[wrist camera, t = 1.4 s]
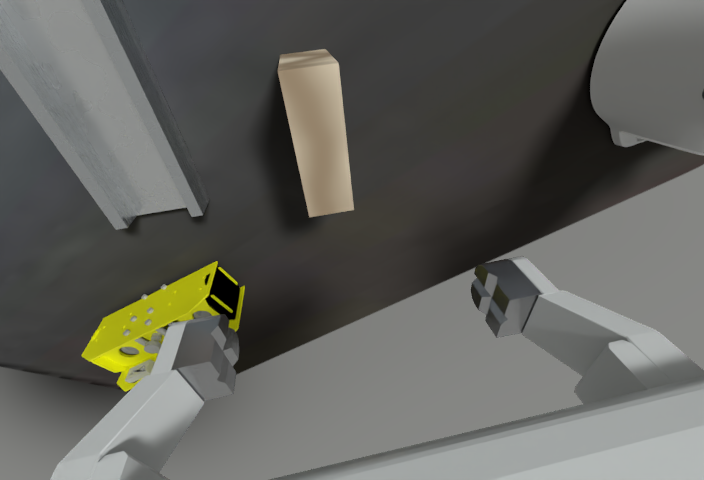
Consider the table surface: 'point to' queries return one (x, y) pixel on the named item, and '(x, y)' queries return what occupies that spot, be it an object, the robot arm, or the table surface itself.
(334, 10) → the table surface
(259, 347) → the table surface
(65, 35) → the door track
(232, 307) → the yellow toy chassis
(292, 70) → the tan rectangular block
